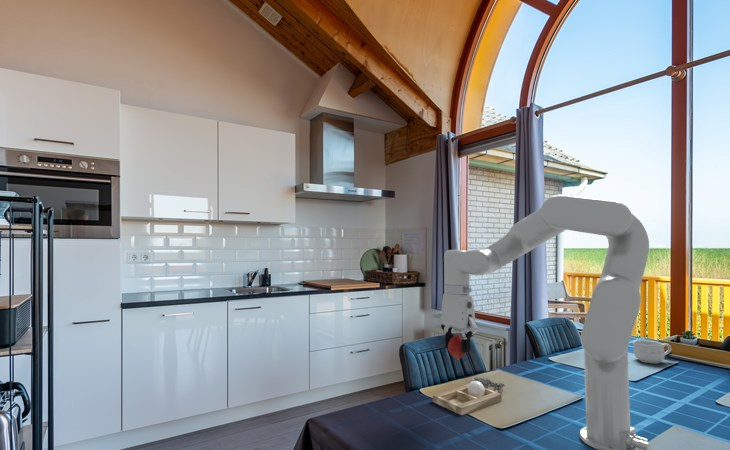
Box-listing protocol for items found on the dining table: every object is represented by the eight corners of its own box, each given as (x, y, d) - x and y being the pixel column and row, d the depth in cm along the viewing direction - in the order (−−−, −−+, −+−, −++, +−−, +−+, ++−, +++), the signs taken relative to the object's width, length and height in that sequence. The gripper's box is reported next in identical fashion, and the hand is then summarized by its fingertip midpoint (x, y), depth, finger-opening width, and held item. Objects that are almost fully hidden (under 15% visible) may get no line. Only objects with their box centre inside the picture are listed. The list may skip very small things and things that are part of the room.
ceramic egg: (488, 398, 125) (488, 381, 125) (477, 402, 122) (477, 385, 122) (475, 393, 129) (475, 377, 129) (464, 397, 126) (464, 380, 126)
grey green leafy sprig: (506, 397, 129) (506, 384, 129) (485, 399, 128) (484, 386, 128) (490, 385, 140) (490, 374, 140) (470, 387, 138) (470, 375, 139)
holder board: (502, 404, 123) (501, 394, 123) (462, 419, 113) (461, 408, 113) (471, 392, 133) (471, 382, 133) (432, 405, 123) (432, 395, 123)
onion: (444, 358, 122) (443, 331, 123) (459, 355, 125) (458, 330, 125) (455, 363, 117) (455, 336, 117) (471, 360, 119) (471, 334, 120)
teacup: (638, 364, 161) (637, 344, 162) (629, 357, 172) (628, 338, 172) (679, 367, 157) (678, 346, 157) (667, 359, 167) (666, 340, 168)
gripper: (487, 292, 117) (488, 354, 116) (445, 286, 131) (445, 341, 130) (470, 294, 112) (471, 358, 112) (428, 288, 127) (428, 345, 126)
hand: (457, 348), depth 121 cm, fingers closed on onion, 5 cm apart
